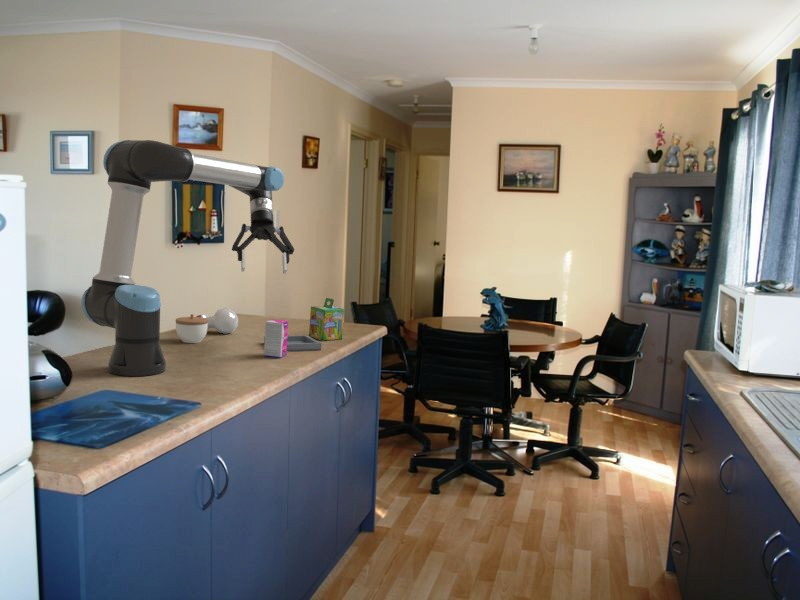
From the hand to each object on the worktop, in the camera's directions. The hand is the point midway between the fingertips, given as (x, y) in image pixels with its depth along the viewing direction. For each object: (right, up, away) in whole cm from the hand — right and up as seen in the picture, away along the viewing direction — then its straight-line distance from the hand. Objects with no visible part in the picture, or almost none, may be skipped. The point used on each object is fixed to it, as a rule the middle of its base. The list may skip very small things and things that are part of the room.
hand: (264, 270), depth 238 cm
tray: (+7, -25, +13) cm, 29 cm away
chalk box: (+17, -24, +32) cm, 43 cm away
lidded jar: (-27, -24, +12) cm, 38 cm away
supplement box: (+4, -28, -4) cm, 28 cm away
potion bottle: (-23, -22, +31) cm, 44 cm away
